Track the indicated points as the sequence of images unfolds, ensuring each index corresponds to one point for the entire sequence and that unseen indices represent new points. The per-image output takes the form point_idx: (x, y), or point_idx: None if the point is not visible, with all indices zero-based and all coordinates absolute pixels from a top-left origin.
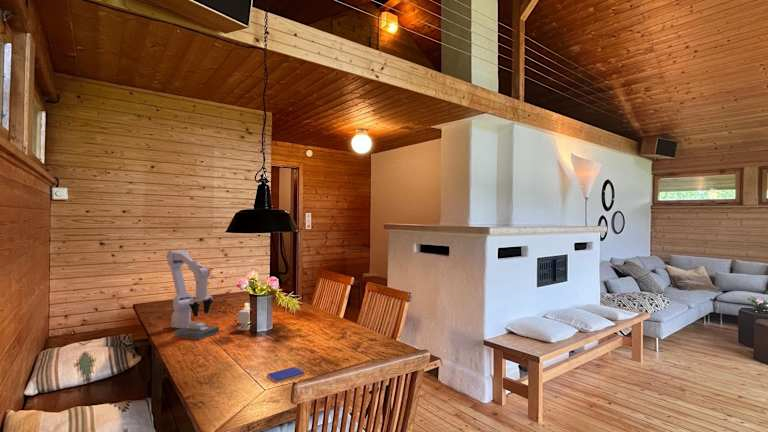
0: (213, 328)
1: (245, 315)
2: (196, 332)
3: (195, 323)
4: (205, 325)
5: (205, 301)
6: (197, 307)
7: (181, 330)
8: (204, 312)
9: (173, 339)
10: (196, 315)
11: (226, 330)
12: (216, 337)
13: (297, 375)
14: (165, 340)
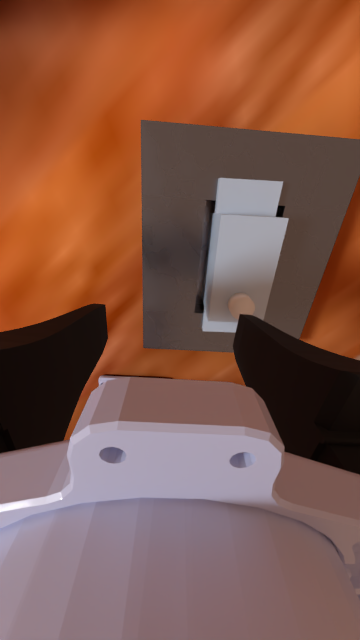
0: (200, 136)
1: None
2: (329, 199)
3: (241, 293)
4: (151, 266)
5: (37, 441)
6: (328, 355)
7: (289, 326)
8: (107, 338)
9: (331, 309)
10: (256, 318)
11: (80, 104)
12: (270, 40)
13: None
14: (347, 331)
